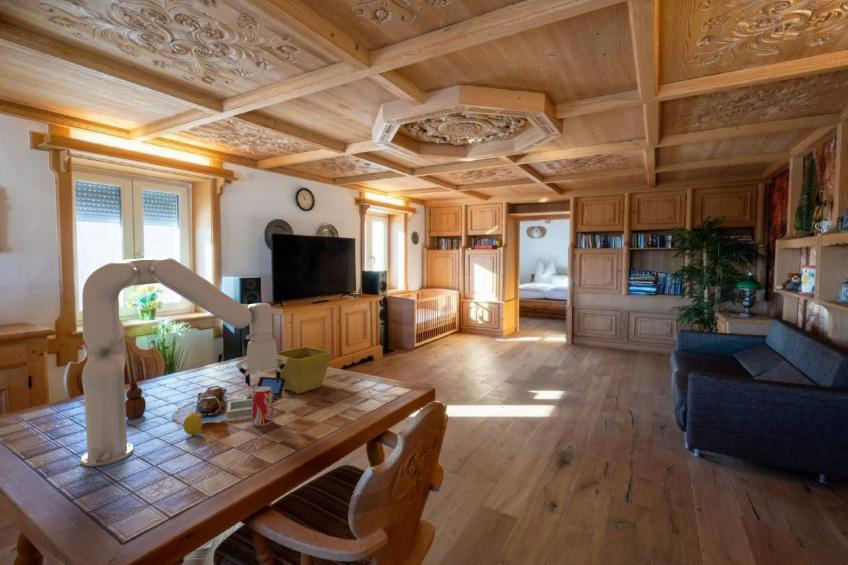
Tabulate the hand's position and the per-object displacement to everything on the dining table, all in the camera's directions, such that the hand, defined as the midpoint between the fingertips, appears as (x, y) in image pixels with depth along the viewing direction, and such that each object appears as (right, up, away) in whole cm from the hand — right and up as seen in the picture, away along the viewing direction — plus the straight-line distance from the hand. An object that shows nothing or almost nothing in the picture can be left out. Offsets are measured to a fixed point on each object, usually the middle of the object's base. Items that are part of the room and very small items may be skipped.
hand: (263, 383), depth 147 cm
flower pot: (+2, -12, +40) cm, 42 cm away
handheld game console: (-10, -13, +28) cm, 32 cm away
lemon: (-20, -16, -10) cm, 27 cm away
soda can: (-1, -15, +1) cm, 15 cm away
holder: (-11, -14, +10) cm, 20 cm away
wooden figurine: (-50, -14, +5) cm, 53 cm away
